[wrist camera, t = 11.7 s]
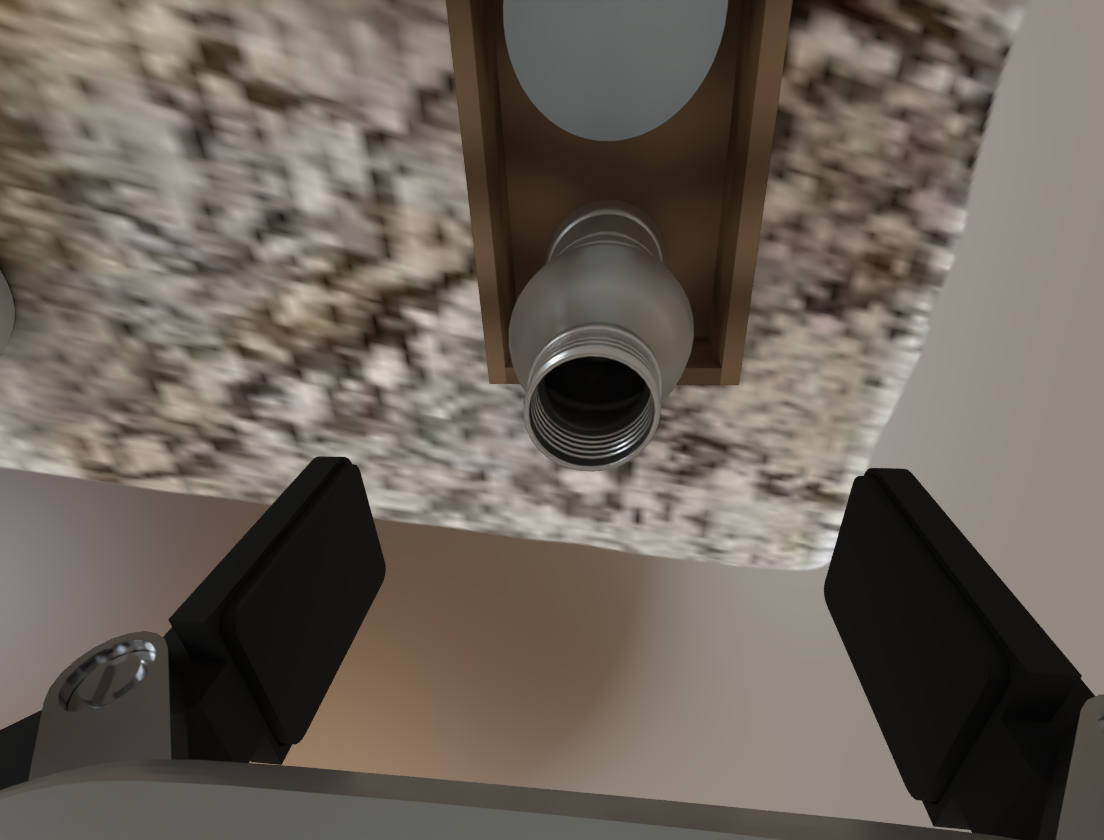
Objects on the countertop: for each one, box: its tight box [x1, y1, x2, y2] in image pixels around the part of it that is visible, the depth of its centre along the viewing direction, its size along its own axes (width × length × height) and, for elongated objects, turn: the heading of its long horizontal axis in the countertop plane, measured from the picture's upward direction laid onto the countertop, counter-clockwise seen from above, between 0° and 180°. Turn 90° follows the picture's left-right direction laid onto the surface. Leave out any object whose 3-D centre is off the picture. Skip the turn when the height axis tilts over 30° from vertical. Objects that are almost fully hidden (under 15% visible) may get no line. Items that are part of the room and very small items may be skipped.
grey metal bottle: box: [509, 200, 694, 471], centre depth 22 cm, size 6×7×20 cm
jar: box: [503, 0, 728, 141], centre depth 22 cm, size 7×7×10 cm
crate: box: [446, 0, 792, 385], centre depth 27 cm, size 22×14×6 cm, turn 3°
